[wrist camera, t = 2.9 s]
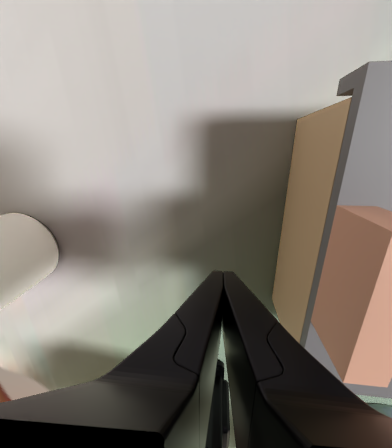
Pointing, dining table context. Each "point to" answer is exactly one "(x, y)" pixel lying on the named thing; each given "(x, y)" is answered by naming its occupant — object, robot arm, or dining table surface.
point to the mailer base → (307, 210)
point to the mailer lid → (358, 245)
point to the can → (24, 255)
